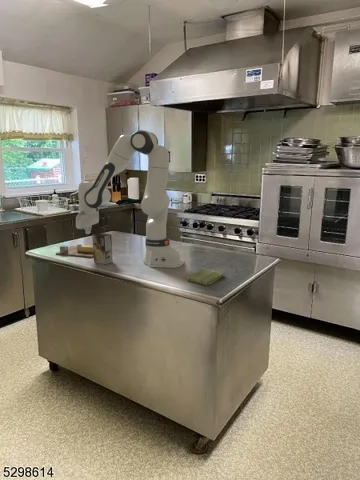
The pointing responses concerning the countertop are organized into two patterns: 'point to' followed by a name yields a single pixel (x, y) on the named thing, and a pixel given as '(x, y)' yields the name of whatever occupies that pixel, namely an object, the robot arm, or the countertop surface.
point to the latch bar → (84, 248)
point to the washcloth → (205, 277)
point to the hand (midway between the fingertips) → (88, 233)
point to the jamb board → (73, 252)
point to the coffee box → (102, 248)
